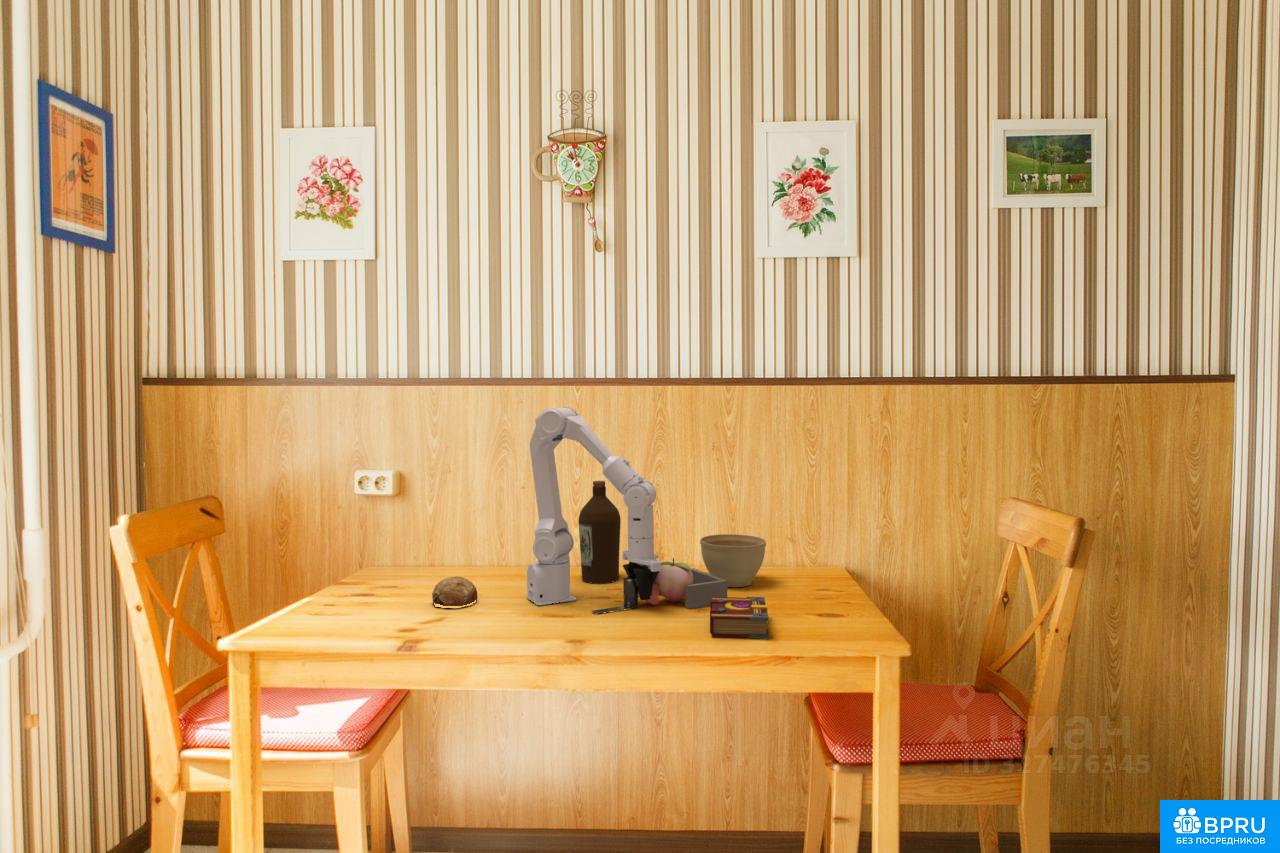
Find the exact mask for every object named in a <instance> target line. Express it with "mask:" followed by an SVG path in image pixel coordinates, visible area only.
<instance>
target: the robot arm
mask: <svg viewBox="0 0 1280 853" xmlns="http://www.w3.org/2000/svg"><path fill="white" fill-rule="evenodd" d="M534 420H535V422H534V423H535V427H534V429H533V432H532V435H531V439H530V441H529V452H530V459H531V467H532V475H533V481H534V482H533V483H534V490H535V492H534V493H535V500H536V506H537V514H538V522H537V525H536V527H535V529H534V541H533V545H532V551H533V554H534V556H535V558H536V559H537V562H533V563H530V564H528V566H527V570H526V584H527V589H526V591H527V592H526V594H527V595H526V597H527V598H526V597H525V598H526V599H528V600H529V601H530V600H531V602H532V603H533V602H534V604H535V605H537V606H545V605H551V604H552V603H553V604H560V603H567V602H571V601H577V597H576V596H574V595H573V594H571V573H570V572H571V570H570V569H571V568H570V567H571V566H570V565H571V563H570V562H571V561H570V558H571V557H570V552H571V551H572V550H573V549H574V543H575V542H574V537H573V535H572V533H571V531H570V530H569V526H568V524H569V523H568V522H567V521H566V520H565V518H564V517H563V513H562V511H563V510H562V504H561V496H560V489H559V480H558V473H557V472H558V471H557V467H556V466H557V463H556V458H555V457H556V456H555V449H556V448H557V447H558V445H559V444H560V443H561V442H562V441H563V440H564V439H567V440H573V441H576V442H577V443H579V444H580V445H581V446H582V447H583V448H584V449H585V450H586V451H587V452H589V454H590V455H591V456H592V457H593V458H595V460H596V461H597V463H599V464H600V465H601V466H602V475H603V476H604V477H605V478H606V479H607V480H608V481H609V482H610V483H611V485H612V486H613V487H614V488H615V489H616V490H617V491H618V492H619V494H621V495H623V497H622V498H623V502H624V504H625V506H626V508H627V550H622V560H623V561H628V563H625V564H623V565H622V566H623V567H622V568H623V569H624V572H625V573H626V575H627V576H626V577H636V578H637V582H638V591H639V596H640V597H639V599H640V601H645V600H647V599H650V596H651V592H652V588H653V584H654V581H655V579H656V577H657V575H658V573H659V571H661V563H662V562H661V561H660V560H658V559H659V554H657V553H655V538H654V537H655V536H654V535H655V533H654V532H655V528H654V527H655V526H654V522H655V521H654V517H655V516H654V504H653V503H655V501H656V499H657V490H656V488H655V486H654V484H653V483H652V482H651V481H648V480H645V477H644V476H643V475H642V474H639V473H638V472H636V470H635V469H634V468H633V467H632V466H631V465H630V464H631V461H630V460H629V458H627V457H626V458H624V457H623V456H622V455H614V454H613V453H612V452H611V450H610V449H609V448H608V447H607V446H606V445H605V443H604V442H603V441H602V440H601V439H600V438H599V436H598V435H597V434H596V432H595V431H594V430H593V429H592V428H591V427H590V425H589V424H588V422H587V421H586V420H585V419H584V417H582V416H581V415H579V414H578V412H577V411H576V410H575V409H574V408H573V407H570V406H563V407H559V408H556V407H549V408H548V407H547V408H546V409H544V410H543V411H542V412H541V413H540V414H539V415H538V416H537V417H536V418H535V419H534ZM559 602H560V603H559Z"/></svg>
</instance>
